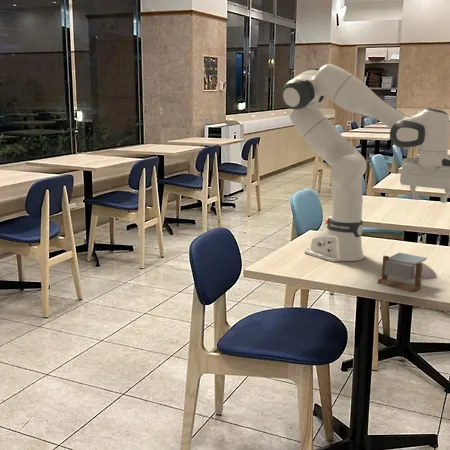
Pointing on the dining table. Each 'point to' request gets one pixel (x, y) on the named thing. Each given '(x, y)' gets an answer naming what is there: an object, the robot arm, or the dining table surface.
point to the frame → (400, 285)
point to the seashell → (426, 272)
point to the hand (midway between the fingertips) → (429, 200)
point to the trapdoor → (402, 265)
